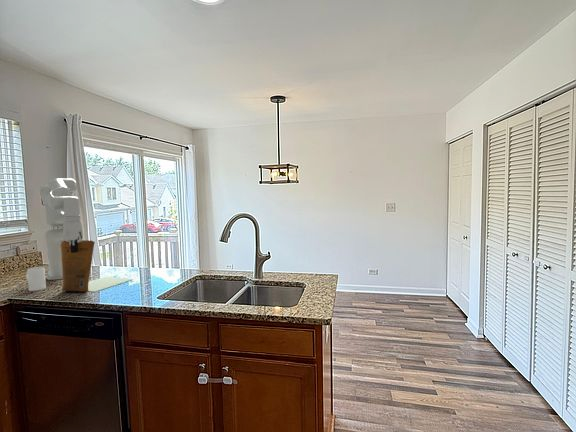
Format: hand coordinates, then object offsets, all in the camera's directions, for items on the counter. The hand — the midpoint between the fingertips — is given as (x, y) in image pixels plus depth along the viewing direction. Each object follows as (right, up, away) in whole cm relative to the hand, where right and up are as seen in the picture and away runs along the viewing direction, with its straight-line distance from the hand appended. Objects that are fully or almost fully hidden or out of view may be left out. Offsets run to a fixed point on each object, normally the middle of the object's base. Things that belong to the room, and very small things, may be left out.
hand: (74, 252), depth 190 cm
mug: (-28, -22, +9) cm, 37 cm away
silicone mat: (+6, -21, +16) cm, 27 cm away
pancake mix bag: (0, -22, 0) cm, 22 cm away
